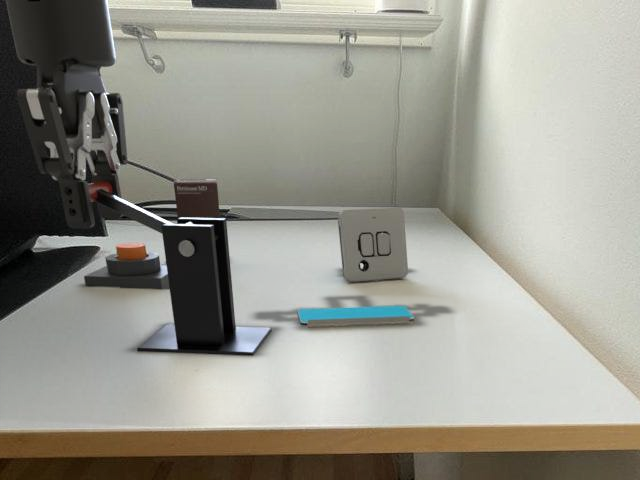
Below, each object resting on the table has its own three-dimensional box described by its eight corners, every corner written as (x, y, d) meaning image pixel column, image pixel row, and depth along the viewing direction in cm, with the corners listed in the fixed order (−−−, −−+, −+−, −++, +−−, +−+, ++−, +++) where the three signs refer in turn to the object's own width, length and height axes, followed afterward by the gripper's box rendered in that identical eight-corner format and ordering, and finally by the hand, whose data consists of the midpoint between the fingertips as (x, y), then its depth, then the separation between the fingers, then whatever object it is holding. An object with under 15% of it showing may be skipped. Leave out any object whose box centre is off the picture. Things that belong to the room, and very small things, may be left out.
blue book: (426, 303, 81) (427, 290, 80) (453, 332, 70) (454, 316, 70) (262, 309, 78) (261, 295, 77) (264, 339, 68) (263, 323, 67)
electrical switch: (346, 284, 90) (343, 210, 86) (334, 279, 94) (331, 209, 90) (409, 279, 93) (409, 208, 89) (394, 275, 97) (394, 207, 93)
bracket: (138, 360, 62) (116, 227, 56) (168, 335, 69) (151, 214, 63) (253, 364, 61) (243, 229, 55) (272, 339, 68) (265, 216, 62)
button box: (86, 293, 84) (80, 261, 82) (113, 279, 91) (108, 249, 89) (163, 296, 83) (158, 263, 81) (183, 281, 90) (180, 251, 88)
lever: (66, 205, 57) (72, 177, 56) (95, 198, 62) (100, 172, 61) (198, 268, 58) (206, 242, 57) (216, 256, 63) (223, 232, 62)
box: (183, 272, 96) (172, 181, 90) (183, 266, 99) (172, 178, 93) (225, 270, 97) (217, 180, 91) (224, 264, 101) (216, 178, 95)
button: (113, 261, 84) (111, 247, 83) (125, 256, 87) (122, 242, 86) (140, 262, 84) (138, 248, 83) (151, 257, 87) (149, 243, 86)
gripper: (56, 7, 58) (93, 212, 67) (-47, -21, 46) (14, 234, 54) (138, 6, 58) (165, 213, 66) (56, -23, 45) (102, 236, 53)
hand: (97, 222), depth 60 cm, fingers closed on lever, 5 cm apart
